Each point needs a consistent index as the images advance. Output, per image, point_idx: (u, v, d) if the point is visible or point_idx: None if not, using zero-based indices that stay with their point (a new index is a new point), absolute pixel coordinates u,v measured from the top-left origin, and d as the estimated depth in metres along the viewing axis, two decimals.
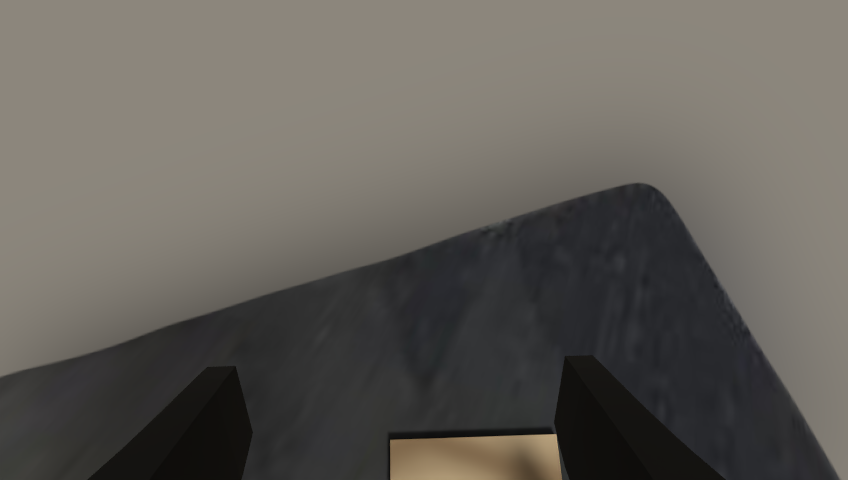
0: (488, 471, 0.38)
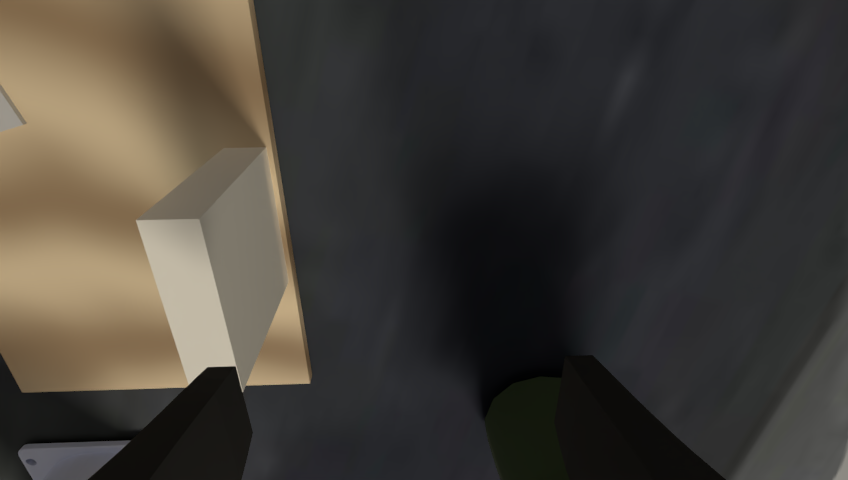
0: (80, 54, 0.16)
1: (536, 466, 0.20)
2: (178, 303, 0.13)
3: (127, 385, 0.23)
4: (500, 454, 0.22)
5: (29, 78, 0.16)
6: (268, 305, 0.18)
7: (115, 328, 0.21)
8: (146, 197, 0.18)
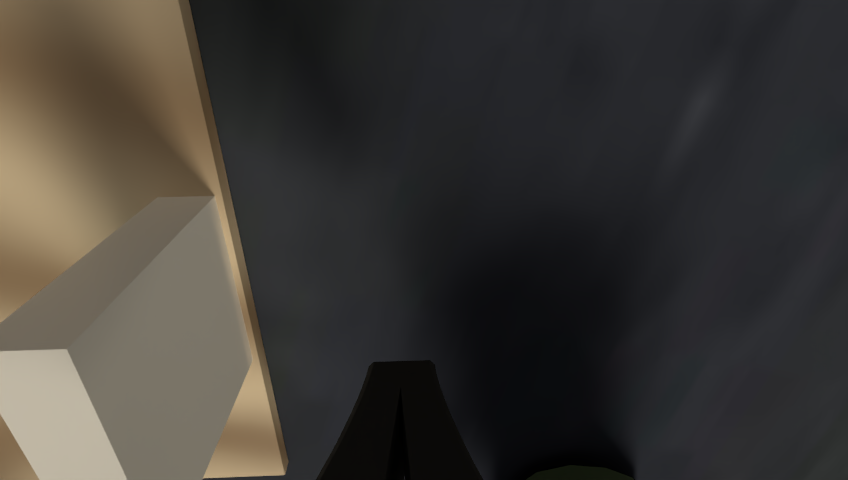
0: None
1: None
2: (53, 460, 0.09)
3: None
4: None
5: None
6: (218, 409, 0.13)
7: None
8: (58, 260, 0.14)
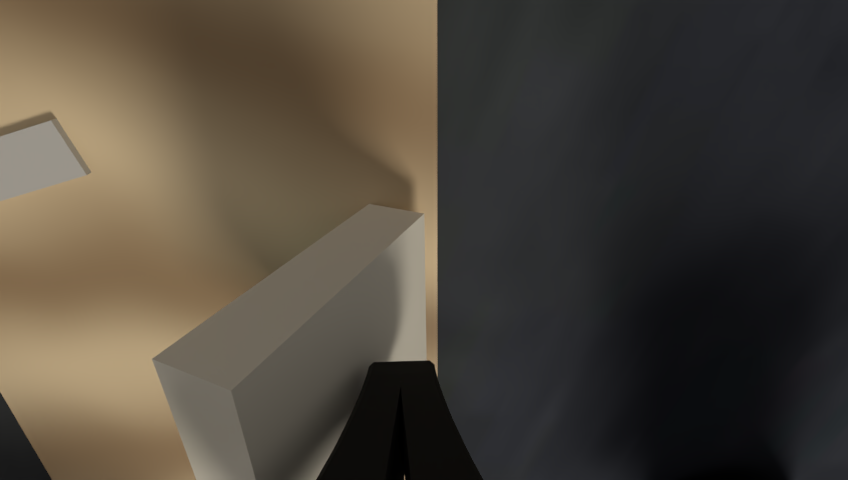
0: (176, 72, 0.11)
1: None
2: (211, 479, 0.08)
3: None
4: None
5: (98, 107, 0.11)
6: None
7: None
8: (251, 270, 0.13)
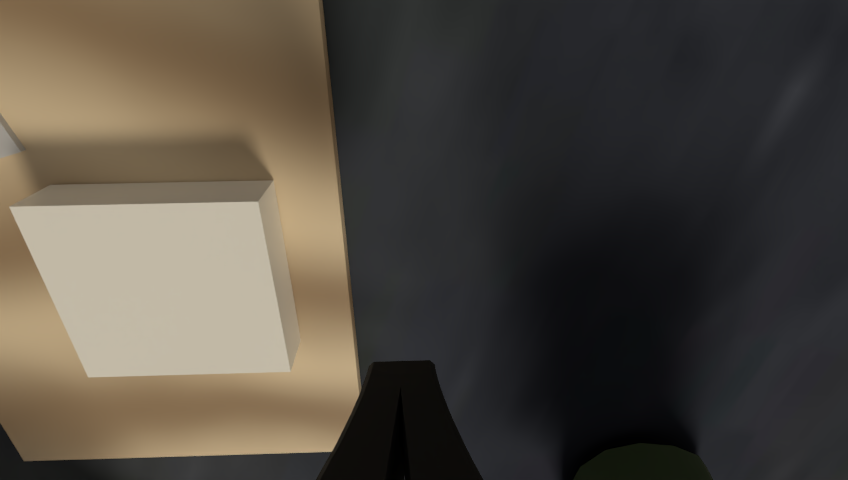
0: (95, 61, 0.12)
1: None
2: None
3: (148, 453, 0.19)
4: None
5: (28, 92, 0.13)
6: (196, 356, 0.15)
7: (135, 391, 0.18)
8: None
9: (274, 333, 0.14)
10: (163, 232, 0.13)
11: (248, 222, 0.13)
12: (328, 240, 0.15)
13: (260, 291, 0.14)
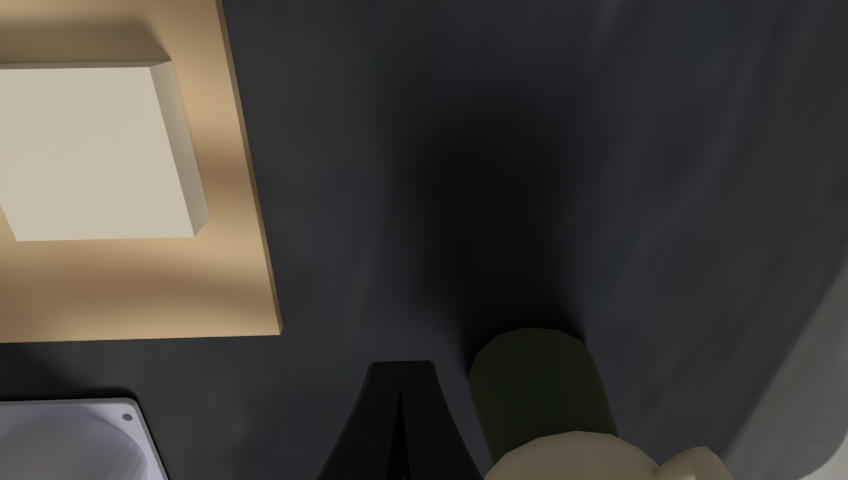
0: None
1: (519, 416, 0.19)
2: None
3: (84, 336, 0.21)
4: (482, 408, 0.21)
5: None
6: (109, 220, 0.17)
7: (67, 270, 0.20)
8: None
9: (176, 198, 0.17)
10: (71, 96, 0.15)
11: (142, 87, 0.15)
12: (225, 120, 0.17)
13: (159, 155, 0.16)
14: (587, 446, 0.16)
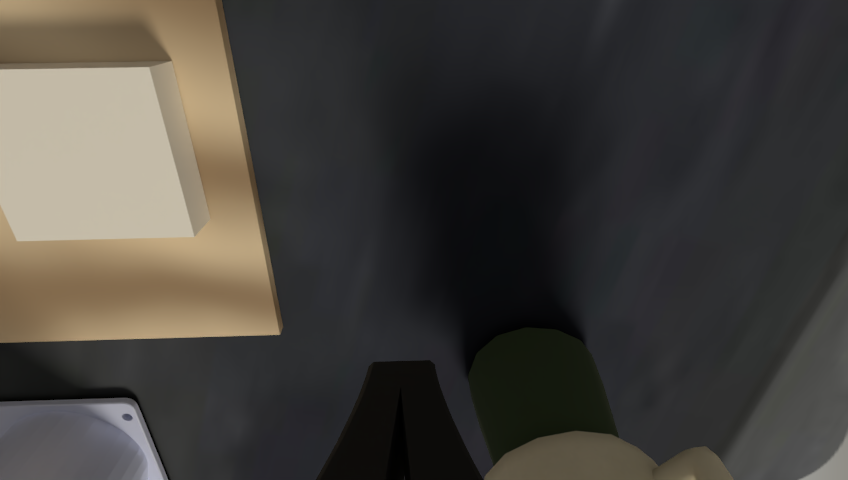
0: None
1: (519, 415, 0.19)
2: None
3: (84, 336, 0.21)
4: (482, 408, 0.21)
5: None
6: (109, 220, 0.17)
7: (67, 270, 0.20)
8: None
9: (176, 198, 0.17)
10: (71, 96, 0.15)
11: (142, 87, 0.15)
12: (225, 120, 0.17)
13: (159, 155, 0.16)
14: (587, 446, 0.16)
